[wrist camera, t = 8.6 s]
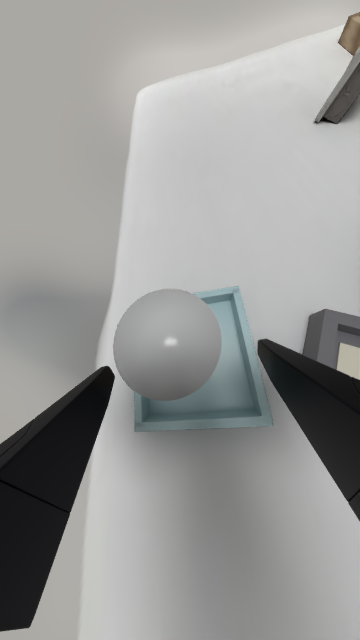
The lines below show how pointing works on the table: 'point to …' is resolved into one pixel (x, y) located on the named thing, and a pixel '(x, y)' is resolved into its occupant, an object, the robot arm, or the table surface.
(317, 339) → the socket block
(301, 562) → the table surface
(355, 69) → the electrical switch
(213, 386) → the parts tray
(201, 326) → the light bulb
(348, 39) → the wooden rectangular frame
